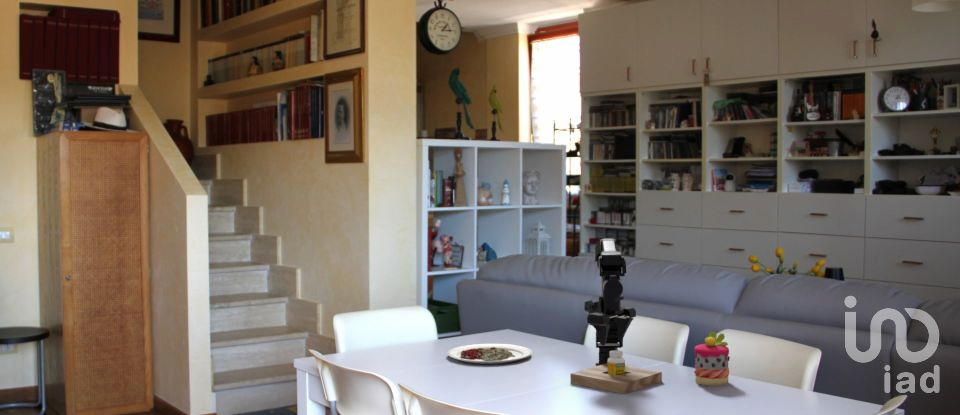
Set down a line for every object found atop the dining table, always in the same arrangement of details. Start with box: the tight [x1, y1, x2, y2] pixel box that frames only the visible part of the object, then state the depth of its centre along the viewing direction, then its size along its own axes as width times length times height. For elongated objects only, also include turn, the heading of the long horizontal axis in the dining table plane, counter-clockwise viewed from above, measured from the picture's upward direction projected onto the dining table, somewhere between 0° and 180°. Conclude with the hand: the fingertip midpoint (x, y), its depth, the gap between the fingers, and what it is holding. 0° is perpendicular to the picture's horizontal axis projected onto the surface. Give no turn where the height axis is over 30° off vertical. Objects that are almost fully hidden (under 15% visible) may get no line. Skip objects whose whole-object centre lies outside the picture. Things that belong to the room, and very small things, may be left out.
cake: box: [693, 331, 730, 387], centre depth 267 cm, size 10×11×15 cm
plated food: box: [447, 343, 533, 365], centre depth 310 cm, size 30×30×3 cm
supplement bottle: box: [607, 350, 626, 376], centre depth 269 cm, size 5×5×10 cm
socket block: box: [570, 363, 663, 395], centre depth 269 cm, size 20×20×3 cm
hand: (611, 342), depth 272 cm, fingers open, 9 cm apart
